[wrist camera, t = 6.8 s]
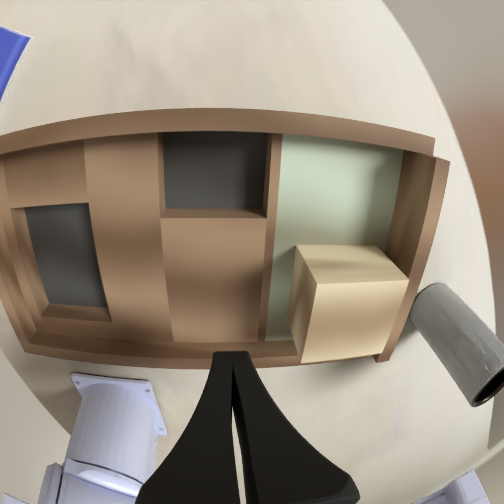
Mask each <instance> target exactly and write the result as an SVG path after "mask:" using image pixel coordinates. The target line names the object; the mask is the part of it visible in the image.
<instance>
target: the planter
mask: <svg viewBox="0 0 504 504" xmlns="http://www.w3.org/2000/svg"><path fill="white" fill-rule="evenodd" d="M410 318H411V321H412V322H413V324H414V325H415V327H416V328H417V329H418V331H419V332H420V333H421V335H422V336H423V337H424V339H425V340H426V341H427V343H428V344H429V345H430V347H431V348H432V349H433V351H434V352H435V354H436V355H437V356H438V358H439V359H440V361H441V362H442V364H443V365H444V366H445V368H446V369H447V371H448V372H449V374H450V375H451V376H452V378H453V379H454V381H455V382H456V384H457V385H458V387H459V388H460V390H461V391H462V393H463V394H464V396H465V398H466V399H467V401H468V402H469V404H470V405H471V406H472V407H478V406H480V405H482V404H484V403H485V402H487V401H488V400H490V399H491V398H492V397H493V396H495V395H496V394H497V393H498V392H499V391H500V390H501V389H502V388H503V387H504V344H503V343H502V342H501V341H500V340H499V339H498V338H497V337H496V335H495V334H494V333H493V332H492V331H491V330H490V329H489V328H488V327H487V326H486V324H485V323H484V322H483V321H482V320H481V319H480V318H479V317H478V316H477V315H476V314H475V313H474V312H473V311H472V310H471V309H470V308H469V307H468V306H467V305H466V304H465V302H464V301H463V300H462V299H461V298H460V297H459V296H458V295H457V294H455V293H454V292H453V291H452V290H451V289H450V288H449V287H448V286H447V285H446V284H444V283H436V284H433V285H431V286H429V287H427V288H426V289H425V290H424V291H423V292H421V293H420V295H419V296H418V297H417V298H416V300H415V302H414V303H413V305H412V308H411V313H410Z"/></svg>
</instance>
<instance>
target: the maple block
mask: <svg viewBox="0 0 504 504" xmlns="http://www.w3.org/2000/svg"><path fill="white" fill-rule="evenodd" d="M408 283H409V279H408V278H407V277H406V276H405V275H404V274H403V273H402V272H401V271H400V269H399V268H398V267H397V266H396V265H395V264H394V263H393V262H392V261H391V260H390V259H389V258H388V257H387V256H386V255H385V254H384V253H383V252H382V251H381V250H380V249H379V248H378V247H377V246H375V245H296V252H295V260H294V268H293V276H292V283H291V290H290V298H289V305H288V312H287V320H288V323H289V326H290V330H291V333H292V336H293V339H294V343H295V346H296V349H297V352H298V356H299V359H300V362H301V363H309V362H319V361H328V360H337V359H345V358H352V357H360V356H366V355H373V354H379V353H382V352H383V350H384V347H385V345H386V342H387V340H388V338H389V335H390V333H391V330H392V328H393V325H394V322H395V320H396V317H397V314H398V312H399V309H400V306H401V304H402V301H403V298H404V295H405V292H406V289H407V286H408Z"/></svg>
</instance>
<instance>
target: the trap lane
mask: <svg viewBox="0 0 504 504" xmlns="http://www.w3.org/2000/svg"><path fill="white" fill-rule="evenodd" d="M434 143H435V138H433V137H430V136H426V135H422V134H418V133H414V132H410V131H406V130H401V129H397V128H393V127H388V126H383V125H378V124H373V123H368V122H362V121H356V120H350V119H344V118H337V117H330V116H323V115H315V114H306V113H297V112H286V111H274V110H258V109H235V108H185V109H161V110H146V111H134V112H123V113H114V114H106V115H98V116H91V117H84V118H78V119H72V120H66V121H61V122H56V123H51V124H46V125H41V126H37V127H32V128H28V129H24V130H20V131H16V132H12V133H9V134H5V135H1V136H0V298H1V300H2V303H3V305H4V308H5V310H6V313H7V315H8V317H9V320H10V322H11V324H12V326H13V328H14V331H15V333H16V335H17V337H18V339H19V341H20V343H21V345H22V347H23V349H24V351H25V352H27V353H33V354H38V355H44V356H49V357H55V358H62V359H68V360H76V361H83V362H91V363H100V364H110V365H120V366H133V367H148V368H168V369H210V368H211V364H212V358H213V353H214V352H215V351H248V352H249V354H250V357H251V360H252V362H253V365H254V367H255V368H270V367H286V366H298V365H309V364H319V363H329V362H337V361H345V360H352V359H360V358H366V357H373V358H374V360H375V361H376V363H378V362H384V361H389V359H390V357H391V355H392V352H393V350H394V348H395V346H396V343H397V341H398V339H399V336H400V334H401V332H402V329H403V327H404V325H405V322H406V320H407V317H408V314H409V312H410V309H411V307H412V304H413V301H414V299H415V296H416V293H417V290H418V287H419V284H420V282H421V279H422V276H423V272H424V269H425V266H426V263H427V260H428V256H429V253H430V250H431V246H432V243H433V239H434V235H435V232H436V228H437V224H438V220H439V216H440V211H441V207H442V202H443V198H444V193H445V188H446V183H447V177H448V172H449V166H450V161H447V160H444V159H441V158H438V157H435V156H433V151H434ZM296 245H375V246H377V247H378V248H379V249H380V250H381V251H382V252H383V253H384V254H385V255H386V256H387V257H388V258H389V259H390V260H391V261H392V262H393V263H394V264H395V265H396V266H397V267H398V268H399V269H400V271H401V272H402V273H403V274H404V275H405V276H406V277H407V278H408V279H409V283H408V286H407V289H406V292H405V295H404V298H403V301H402V304H401V306H400V309H399V312H398V314H397V317H396V320H395V322H394V325H393V328H392V330H391V333H390V335H389V338H388V340H387V342H386V345H385V347H384V350H383V352H382V353H379V354H373V355H366V356H360V357H352V358H345V359H337V360H328V361H319V362H309V363H301V362H300V359H299V356H298V352H297V349H296V346H295V343H294V339H293V336H292V333H291V330H290V326H289V323H288V320H287V312H288V305H289V298H290V290H291V283H292V276H293V268H294V260H295V252H296Z"/></svg>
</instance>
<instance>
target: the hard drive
mask: <svg viewBox="0 0 504 504" xmlns="http://www.w3.org/2000/svg"><path fill="white" fill-rule="evenodd" d="M34 39H35V38H33V37H31V36H28V35H26V34H23V33H21V32H18V31H15V30H13V29H10V28H7V27H5V26H2V25H0V112H1V109H2V107H3V104H4V102H5V99H6V97H7V94H8V92H9V89H10V87H11V85H12V83H13V80H14V78H15V76H16V74H17V72H18V70H19V68H20V66H21V64H22V62H23V60H24V58H25V56H26V54H27V52H28V50H29V48H30V46H31V45H32V43H33V41H34Z"/></svg>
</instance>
